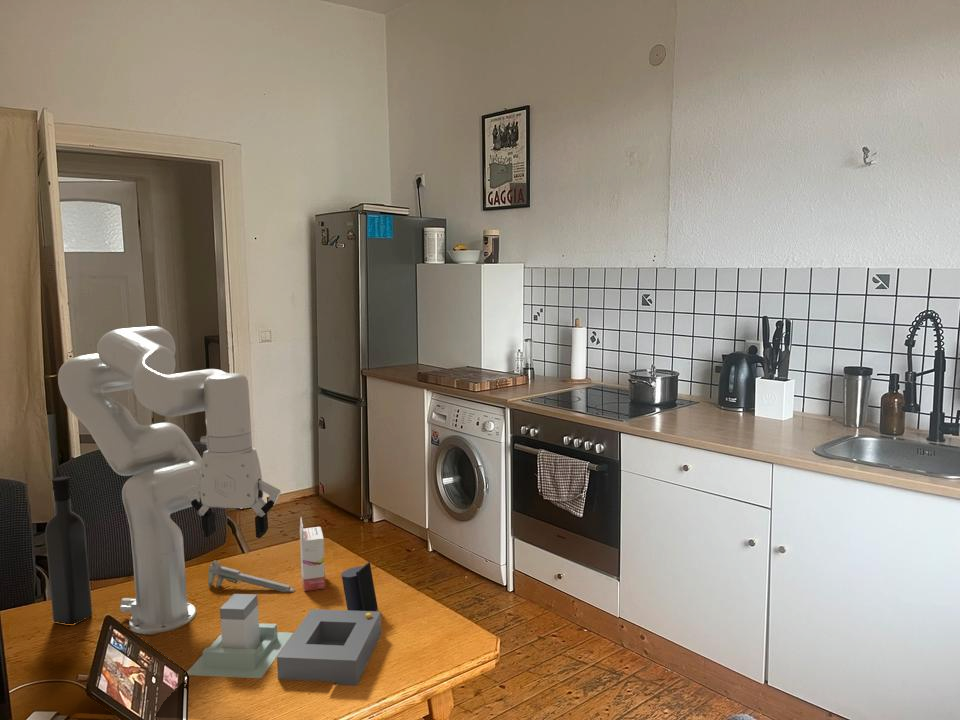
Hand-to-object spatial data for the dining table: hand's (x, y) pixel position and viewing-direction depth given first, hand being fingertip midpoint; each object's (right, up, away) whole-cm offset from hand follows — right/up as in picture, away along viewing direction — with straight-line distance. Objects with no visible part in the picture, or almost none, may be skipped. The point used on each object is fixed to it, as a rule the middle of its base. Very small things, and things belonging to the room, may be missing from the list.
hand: (235, 534), depth 134 cm
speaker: (+19, -21, +20) cm, 35 cm away
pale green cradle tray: (0, -23, +3) cm, 23 cm away
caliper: (-7, -20, +32) cm, 38 cm away
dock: (+17, -23, +2) cm, 29 cm away
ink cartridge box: (+6, -19, +34) cm, 40 cm away
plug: (0, -23, +3) cm, 23 cm away
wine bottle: (-40, -22, +18) cm, 49 cm away
